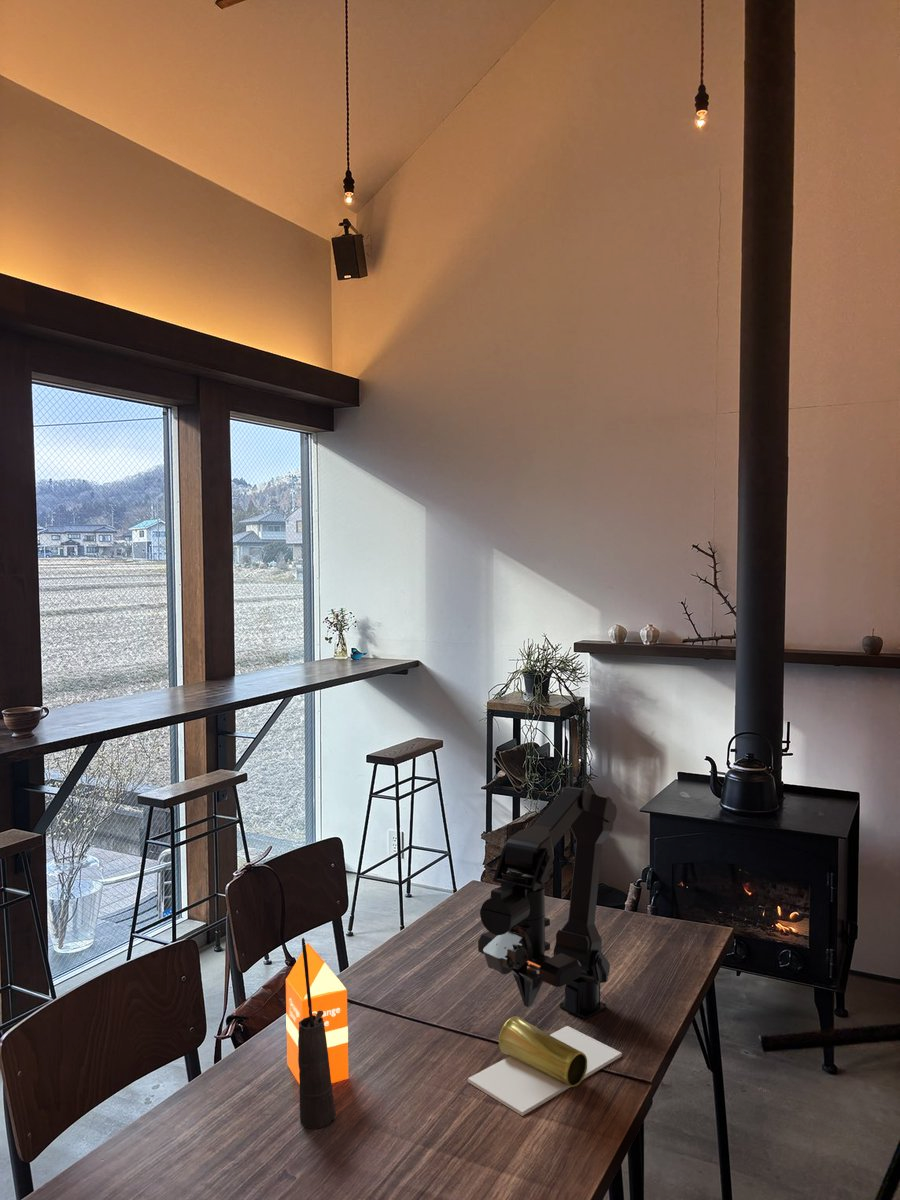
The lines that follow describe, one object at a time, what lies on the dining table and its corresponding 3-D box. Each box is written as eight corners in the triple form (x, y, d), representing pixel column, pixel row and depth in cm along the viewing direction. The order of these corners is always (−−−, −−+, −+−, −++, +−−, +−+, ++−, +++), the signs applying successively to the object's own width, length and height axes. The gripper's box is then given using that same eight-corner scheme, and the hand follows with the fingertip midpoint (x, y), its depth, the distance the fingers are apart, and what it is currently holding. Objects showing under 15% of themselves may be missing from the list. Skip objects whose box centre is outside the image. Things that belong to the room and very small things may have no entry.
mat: (567, 1029, 158) (567, 1025, 158) (621, 1056, 149) (621, 1052, 149) (467, 1082, 142) (467, 1078, 142) (522, 1116, 133) (522, 1112, 133)
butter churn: (321, 1088, 141) (318, 914, 140) (364, 1111, 135) (361, 929, 134) (276, 1116, 134) (272, 933, 133) (319, 1142, 128) (315, 950, 127)
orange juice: (303, 1091, 140) (300, 966, 139) (286, 1064, 148) (284, 946, 147) (349, 1078, 143) (347, 956, 143) (331, 1052, 151) (329, 936, 151)
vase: (527, 1021, 153) (594, 1055, 142) (513, 1057, 150) (580, 1094, 140) (507, 1011, 149) (574, 1045, 139) (492, 1048, 147) (559, 1085, 137)
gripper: (453, 910, 149) (454, 1002, 150) (535, 945, 135) (536, 1045, 136) (500, 894, 157) (501, 981, 157) (583, 925, 143) (583, 1020, 143)
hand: (528, 1005), depth 148 cm, fingers closed
